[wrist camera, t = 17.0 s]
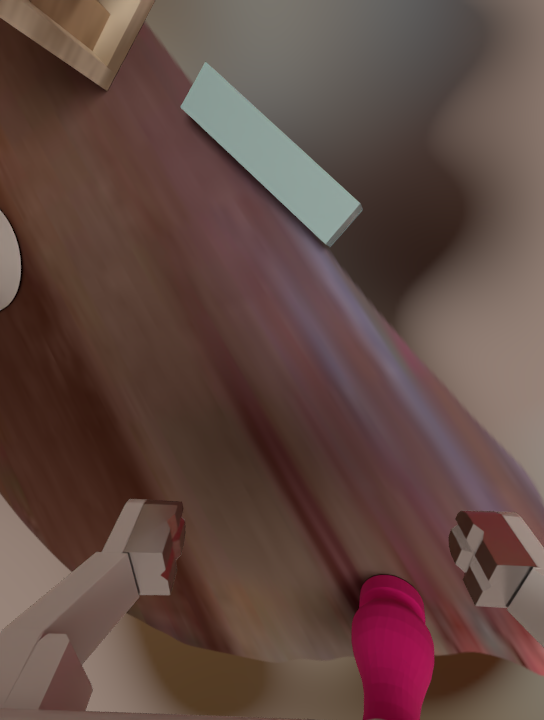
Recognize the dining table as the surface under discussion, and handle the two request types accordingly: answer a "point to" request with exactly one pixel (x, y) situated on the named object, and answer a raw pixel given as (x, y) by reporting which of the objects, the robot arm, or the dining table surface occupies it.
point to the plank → (270, 156)
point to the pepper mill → (392, 649)
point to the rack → (81, 31)
